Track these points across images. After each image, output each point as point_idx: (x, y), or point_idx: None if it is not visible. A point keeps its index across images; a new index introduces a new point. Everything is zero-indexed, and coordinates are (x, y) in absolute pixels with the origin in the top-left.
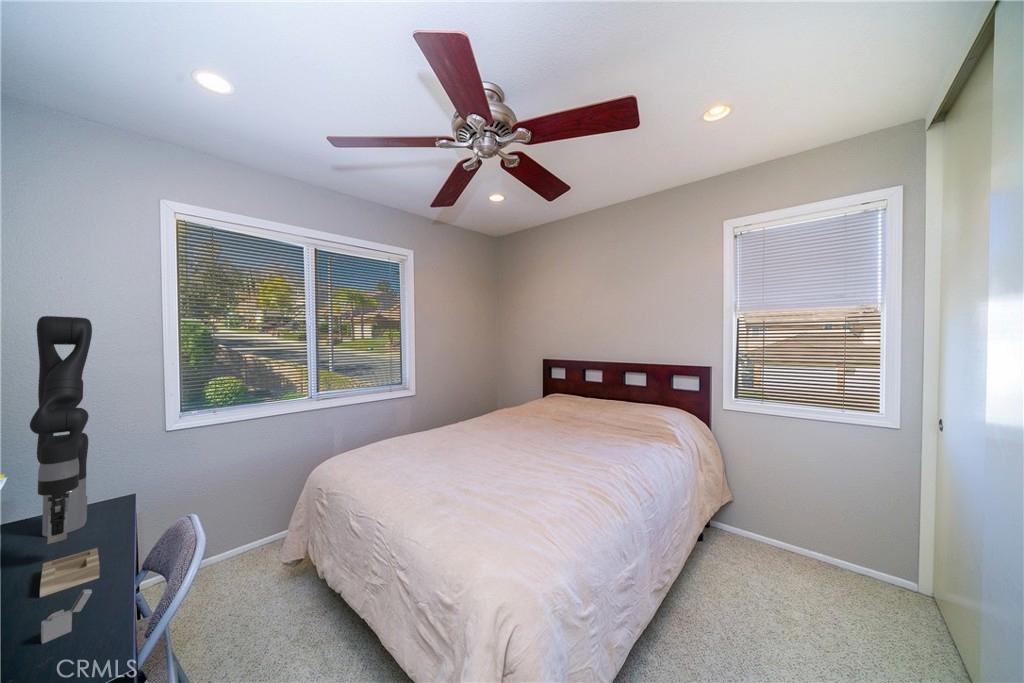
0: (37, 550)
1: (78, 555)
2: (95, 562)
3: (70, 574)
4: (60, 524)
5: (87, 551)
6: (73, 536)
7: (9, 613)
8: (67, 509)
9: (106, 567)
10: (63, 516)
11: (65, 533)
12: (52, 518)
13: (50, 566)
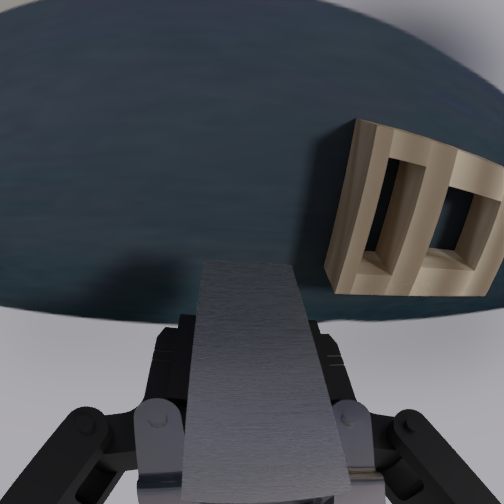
0: (65, 264)
1: (378, 194)
2: (500, 176)
3: (501, 241)
4: (350, 393)
5: (380, 164)
6: (11, 174)
7: (467, 312)
8: (345, 491)
9: (469, 131)
10: (446, 449)
11: (298, 297)
12: (418, 478)
13: (393, 277)
